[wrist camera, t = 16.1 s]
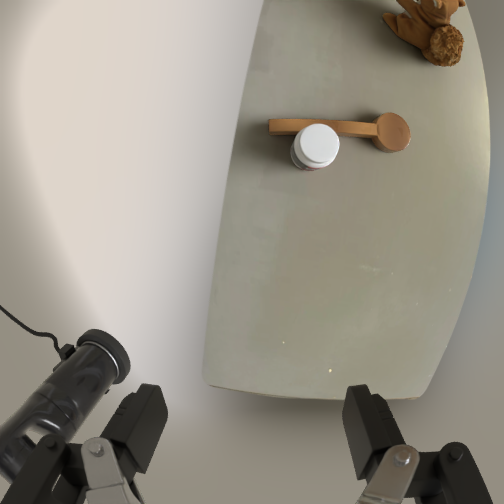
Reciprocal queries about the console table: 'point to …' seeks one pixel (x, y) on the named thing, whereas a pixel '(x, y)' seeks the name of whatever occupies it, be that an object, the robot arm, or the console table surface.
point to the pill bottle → (314, 147)
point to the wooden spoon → (354, 130)
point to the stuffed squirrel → (429, 29)
